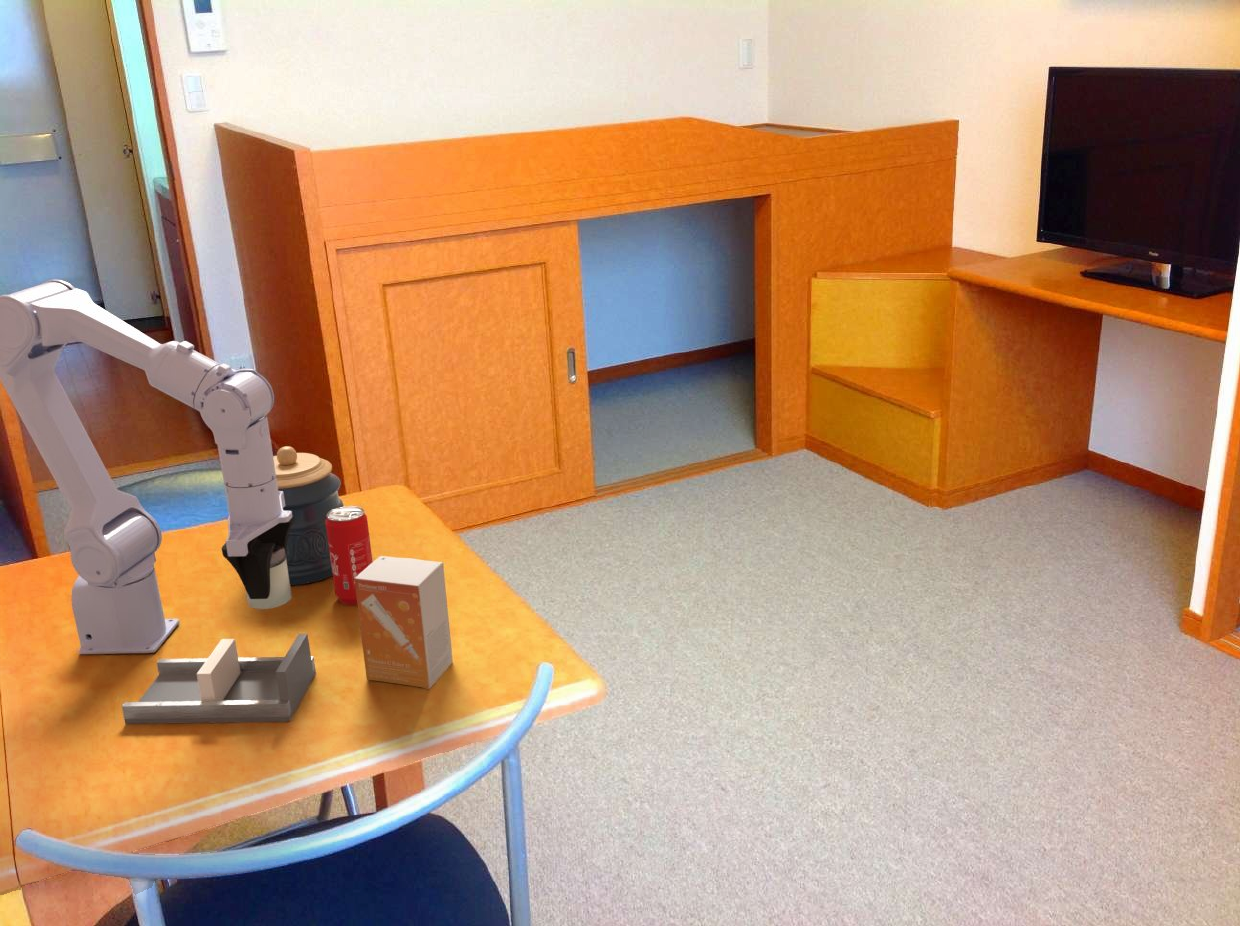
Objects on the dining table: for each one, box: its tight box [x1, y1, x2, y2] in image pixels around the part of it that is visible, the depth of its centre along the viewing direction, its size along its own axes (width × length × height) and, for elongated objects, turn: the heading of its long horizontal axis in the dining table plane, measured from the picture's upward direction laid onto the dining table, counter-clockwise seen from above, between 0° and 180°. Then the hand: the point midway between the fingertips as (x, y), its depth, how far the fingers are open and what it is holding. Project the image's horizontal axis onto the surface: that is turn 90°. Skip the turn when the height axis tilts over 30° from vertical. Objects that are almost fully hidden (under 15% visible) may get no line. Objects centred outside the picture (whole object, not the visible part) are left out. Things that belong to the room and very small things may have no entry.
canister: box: [273, 445, 345, 586], centre depth 158 cm, size 13×13×18 cm
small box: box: [355, 555, 453, 690], centre depth 131 cm, size 8×6×13 cm
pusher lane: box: [121, 632, 317, 725], centre depth 129 cm, size 18×10×6 cm, turn 88°
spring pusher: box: [197, 638, 241, 701], centre depth 129 cm, size 2×8×4 cm, turn 178°
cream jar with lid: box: [245, 544, 293, 610], centre depth 136 cm, size 5×5×6 cm
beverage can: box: [326, 505, 374, 606], centre depth 150 cm, size 5×5×12 cm
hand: (267, 586), depth 137 cm, fingers closed on cream jar with lid, 5 cm apart
